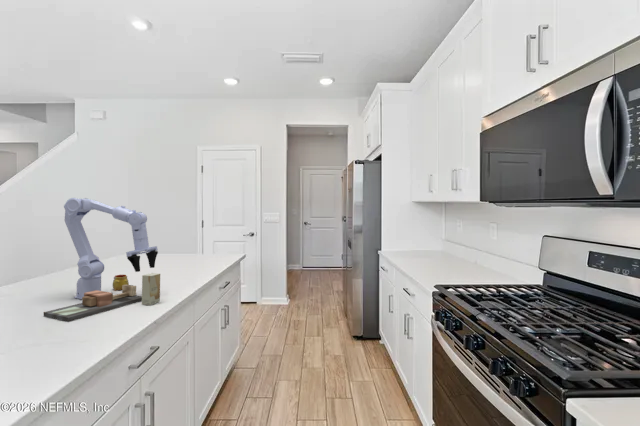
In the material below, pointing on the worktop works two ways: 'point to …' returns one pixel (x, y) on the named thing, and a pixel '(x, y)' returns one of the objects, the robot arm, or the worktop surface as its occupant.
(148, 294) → the skincare box
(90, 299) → the tan wooden brick
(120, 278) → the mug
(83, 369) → the worktop surface
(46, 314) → the plate
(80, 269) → the robot arm
